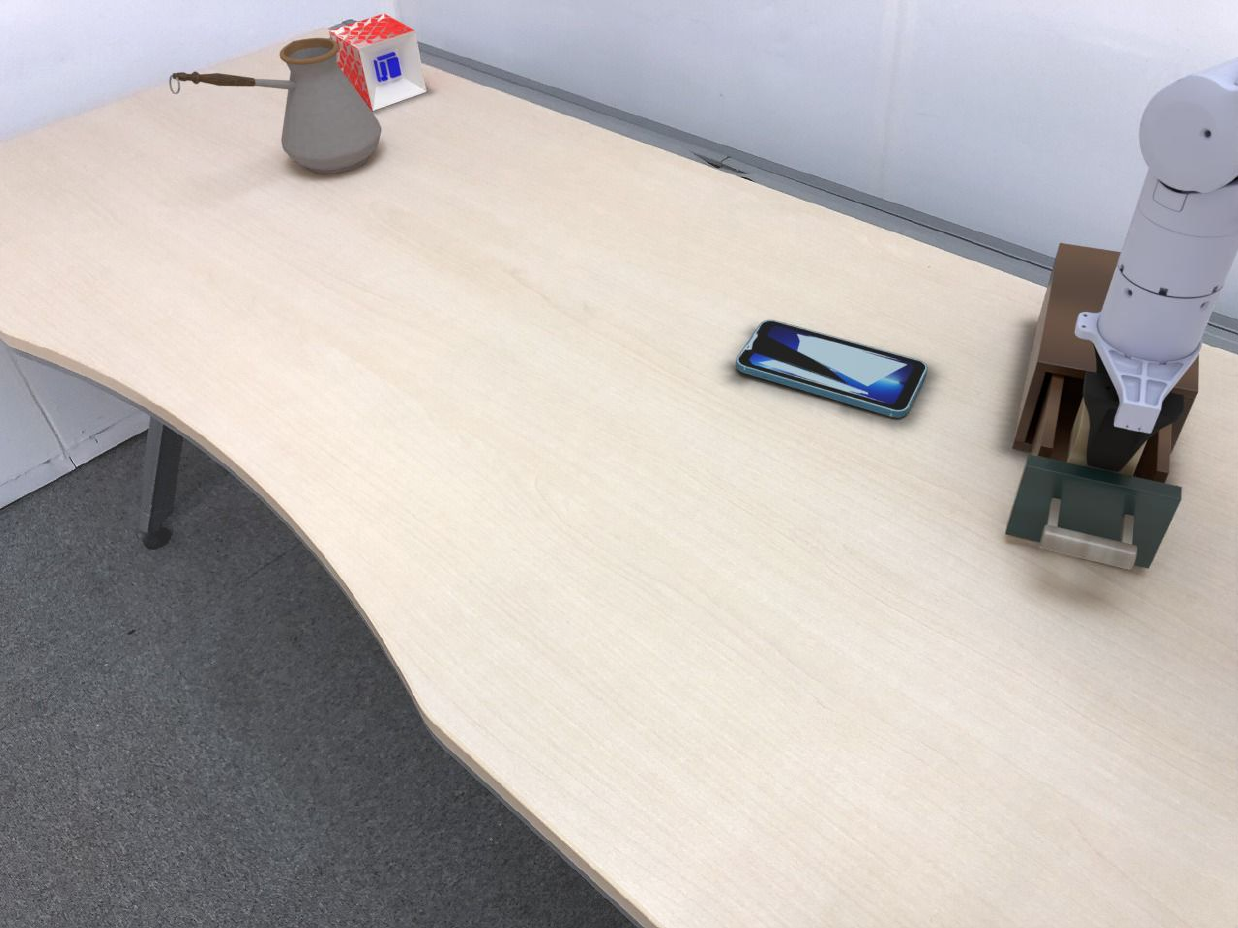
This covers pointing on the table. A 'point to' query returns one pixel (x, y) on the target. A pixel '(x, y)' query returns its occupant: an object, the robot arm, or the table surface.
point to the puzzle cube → (380, 60)
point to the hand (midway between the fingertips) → (1105, 442)
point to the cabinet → (1060, 351)
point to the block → (1080, 442)
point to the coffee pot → (314, 107)
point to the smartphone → (833, 367)
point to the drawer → (1091, 491)
